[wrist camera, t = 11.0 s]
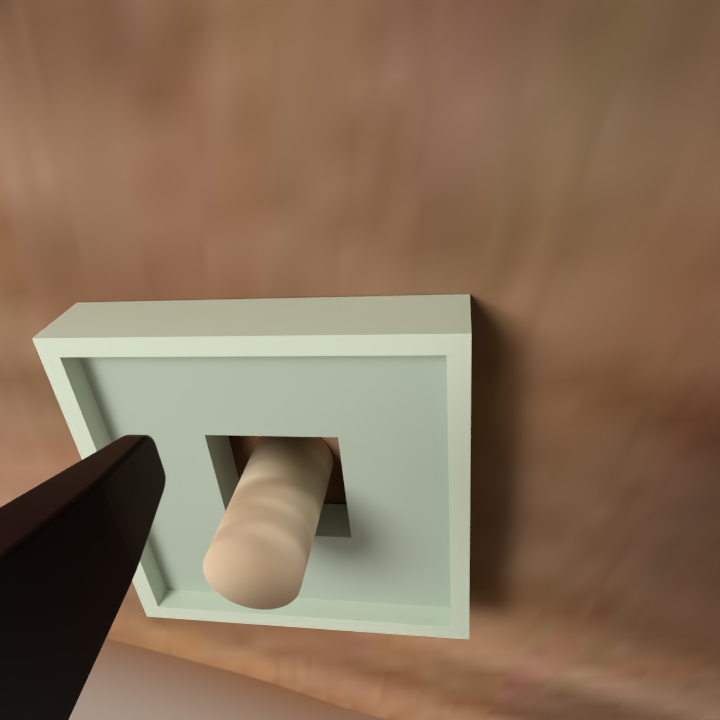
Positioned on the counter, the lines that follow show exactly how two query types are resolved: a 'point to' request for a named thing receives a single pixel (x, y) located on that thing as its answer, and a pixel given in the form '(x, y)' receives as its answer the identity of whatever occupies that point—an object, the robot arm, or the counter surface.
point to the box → (295, 419)
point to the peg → (270, 523)
